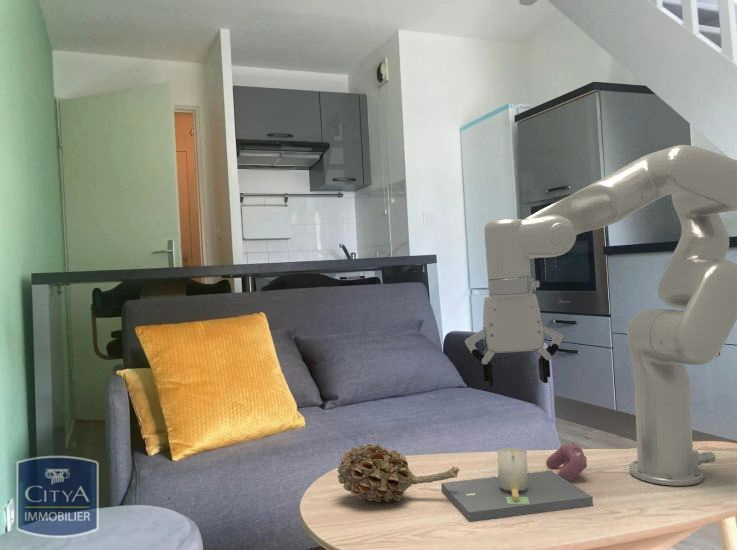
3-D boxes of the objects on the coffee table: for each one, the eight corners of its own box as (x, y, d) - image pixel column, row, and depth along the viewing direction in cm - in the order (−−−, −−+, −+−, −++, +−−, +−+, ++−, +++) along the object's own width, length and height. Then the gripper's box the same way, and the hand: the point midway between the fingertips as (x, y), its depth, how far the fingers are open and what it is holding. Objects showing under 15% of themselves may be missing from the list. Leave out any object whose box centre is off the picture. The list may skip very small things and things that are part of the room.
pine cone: (336, 513, 100) (334, 454, 100) (340, 492, 110) (338, 439, 110) (466, 508, 100) (463, 450, 100) (458, 488, 109) (456, 435, 109)
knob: (498, 483, 106) (496, 446, 106) (526, 484, 106) (525, 447, 106) (500, 501, 98) (499, 461, 98) (531, 502, 97) (530, 462, 97)
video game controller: (578, 491, 109) (594, 458, 109) (556, 481, 110) (572, 447, 109) (564, 474, 119) (578, 442, 119) (543, 464, 119) (557, 433, 119)
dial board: (551, 478, 113) (550, 470, 113) (593, 505, 99) (592, 496, 99) (441, 491, 108) (441, 482, 108) (469, 521, 94) (469, 511, 94)
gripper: (553, 284, 109) (559, 376, 109) (459, 291, 109) (465, 382, 109) (564, 285, 101) (571, 384, 101) (463, 292, 102) (471, 390, 102)
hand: (516, 383), depth 105 cm, fingers open, 9 cm apart
